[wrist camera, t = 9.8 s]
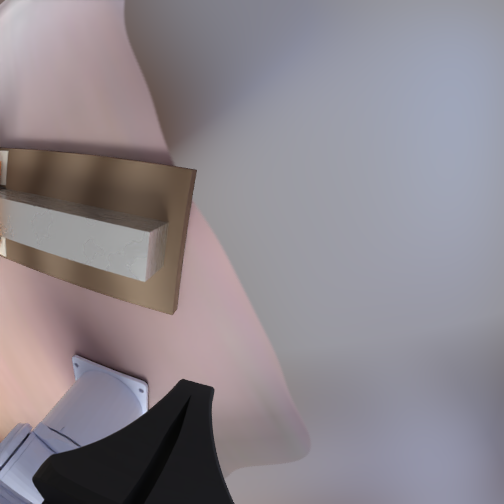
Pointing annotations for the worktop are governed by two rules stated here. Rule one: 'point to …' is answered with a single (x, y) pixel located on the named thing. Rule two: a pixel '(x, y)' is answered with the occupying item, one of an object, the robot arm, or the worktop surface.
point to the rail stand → (97, 222)
